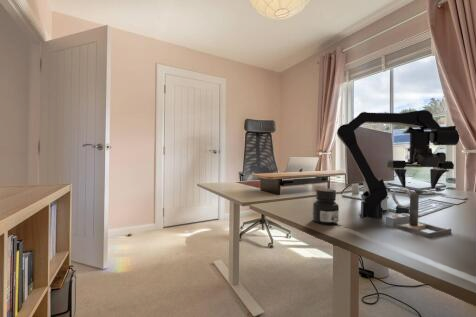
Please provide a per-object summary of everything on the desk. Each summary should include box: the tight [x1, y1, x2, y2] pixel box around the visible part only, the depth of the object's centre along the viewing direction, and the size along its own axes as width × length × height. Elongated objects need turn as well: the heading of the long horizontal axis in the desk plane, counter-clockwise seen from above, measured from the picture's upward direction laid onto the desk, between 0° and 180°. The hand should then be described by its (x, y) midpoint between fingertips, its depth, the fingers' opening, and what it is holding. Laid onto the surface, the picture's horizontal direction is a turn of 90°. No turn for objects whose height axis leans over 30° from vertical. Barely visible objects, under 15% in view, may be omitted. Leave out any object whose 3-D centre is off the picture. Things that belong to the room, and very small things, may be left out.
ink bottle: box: [312, 187, 340, 226], centre depth 84 cm, size 10×9×12 cm
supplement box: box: [362, 181, 389, 211], centre depth 104 cm, size 7×7×13 cm
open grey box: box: [393, 221, 452, 239], centre depth 74 cm, size 13×11×2 cm
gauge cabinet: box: [385, 212, 410, 228], centre depth 79 cm, size 2×11×4 cm, turn 112°
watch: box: [391, 187, 413, 214], centre depth 96 cm, size 6×8×11 cm
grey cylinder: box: [403, 192, 427, 230], centre depth 74 cm, size 3×8×11 cm, turn 112°
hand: (418, 187), depth 83 cm, fingers open, 9 cm apart
